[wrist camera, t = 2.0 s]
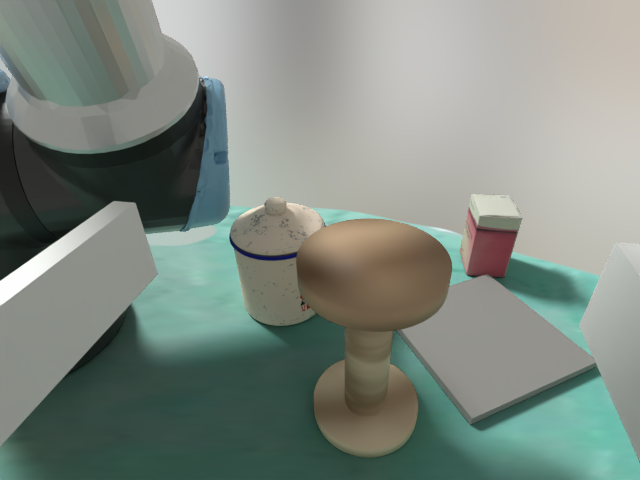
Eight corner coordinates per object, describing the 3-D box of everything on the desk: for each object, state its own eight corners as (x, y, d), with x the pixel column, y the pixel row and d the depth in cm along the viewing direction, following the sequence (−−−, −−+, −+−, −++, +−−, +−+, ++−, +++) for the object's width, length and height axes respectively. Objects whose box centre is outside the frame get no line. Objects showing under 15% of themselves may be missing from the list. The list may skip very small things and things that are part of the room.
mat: (382, 313, 40) (383, 307, 40) (486, 279, 44) (487, 273, 44) (470, 424, 30) (472, 418, 29) (594, 367, 34) (597, 361, 33)
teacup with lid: (321, 334, 38) (316, 230, 32) (229, 325, 39) (208, 224, 33) (335, 259, 48) (334, 169, 42) (262, 255, 49) (250, 166, 43)
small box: (458, 250, 49) (470, 192, 44) (495, 252, 48) (510, 193, 44) (465, 276, 45) (478, 214, 40) (506, 278, 44) (523, 216, 40)
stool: (292, 381, 34) (276, 237, 26) (385, 348, 36) (397, 208, 28) (336, 486, 27) (333, 331, 19) (448, 435, 29) (487, 281, 21)
